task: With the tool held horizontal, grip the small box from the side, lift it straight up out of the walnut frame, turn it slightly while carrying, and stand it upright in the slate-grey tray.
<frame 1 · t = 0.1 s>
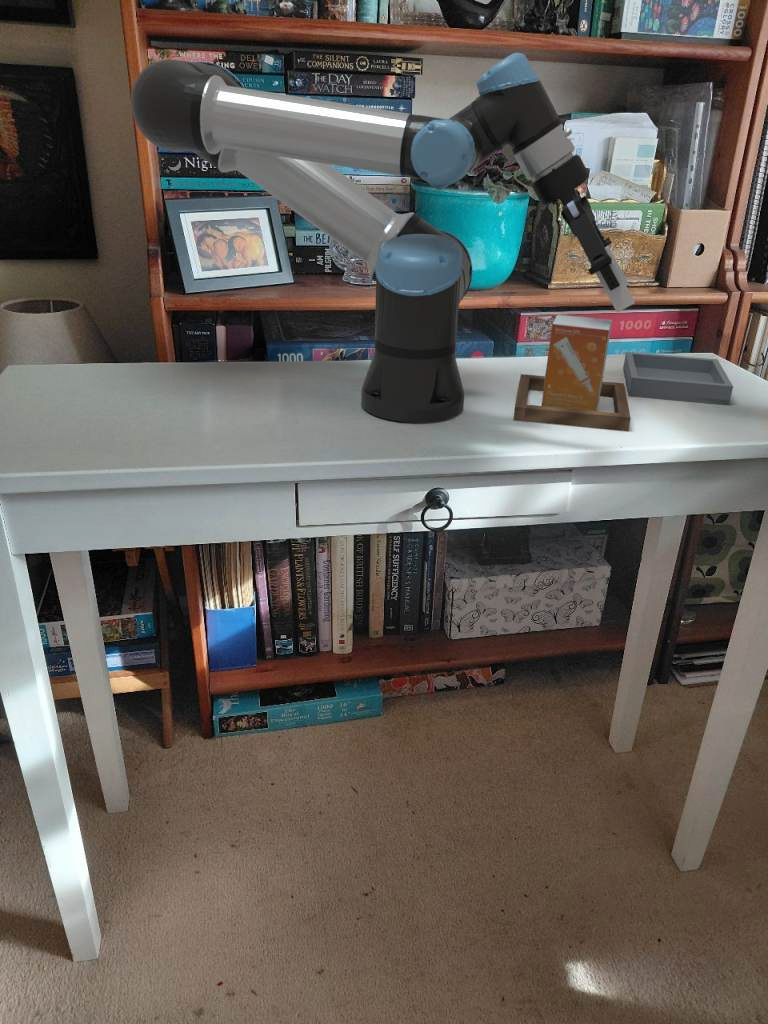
hand: (623, 297, 122), 15 cm above the table, tool tilted 35°, fingers open, 13 cm apart
slate tray: (672, 385, 134), on the table
small box: (569, 408, 123), resting in walnut frame
walnut frame: (570, 407, 123), on the table
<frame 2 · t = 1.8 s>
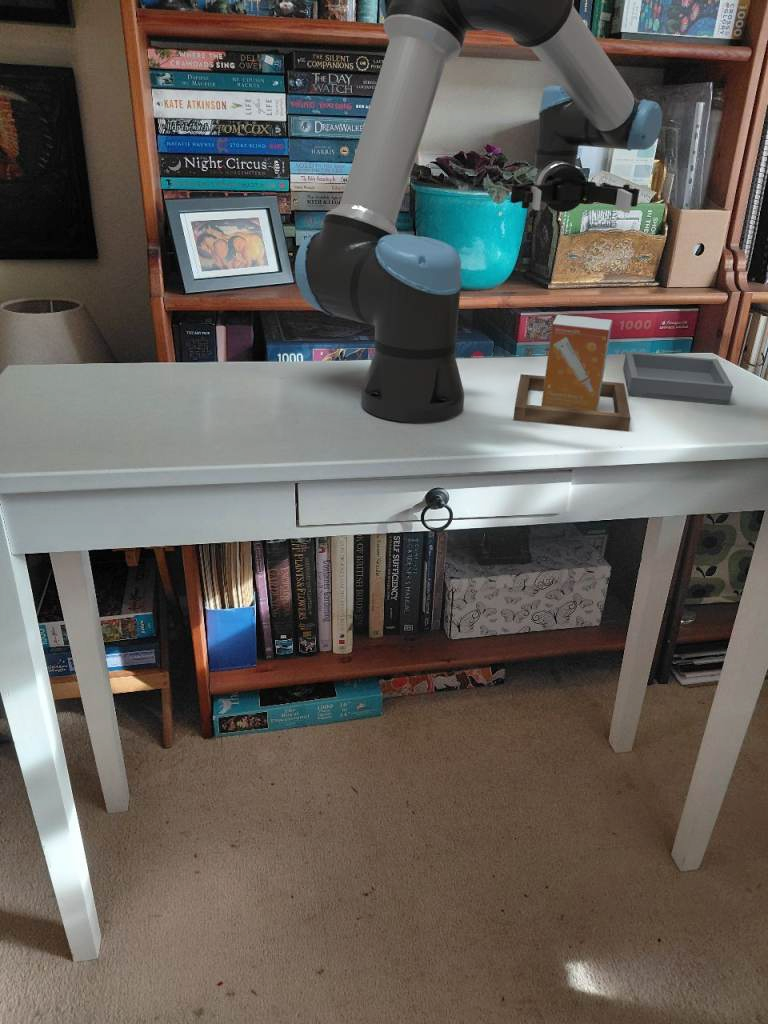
hand: (583, 202, 125), 27 cm above the table, tool horizontal, fingers open, 13 cm apart
nothing on the table moved.
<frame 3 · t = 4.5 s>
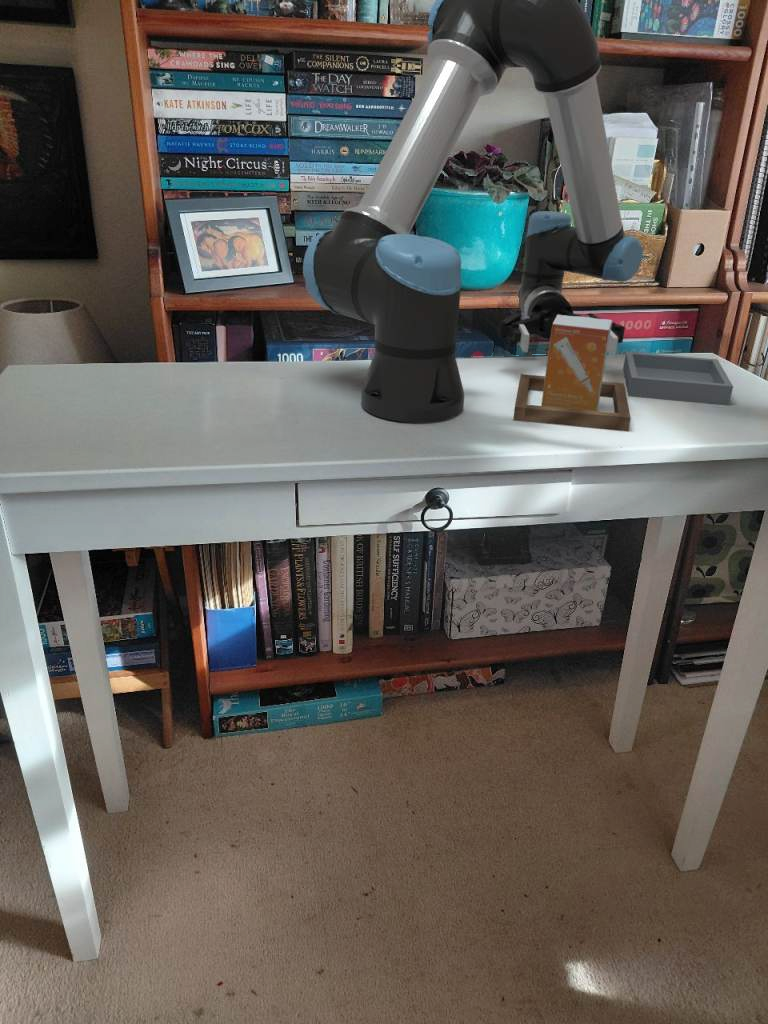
hand: (570, 345, 127), 7 cm above the table, tool horizontal, fingers open, 13 cm apart
nothing on the table moved.
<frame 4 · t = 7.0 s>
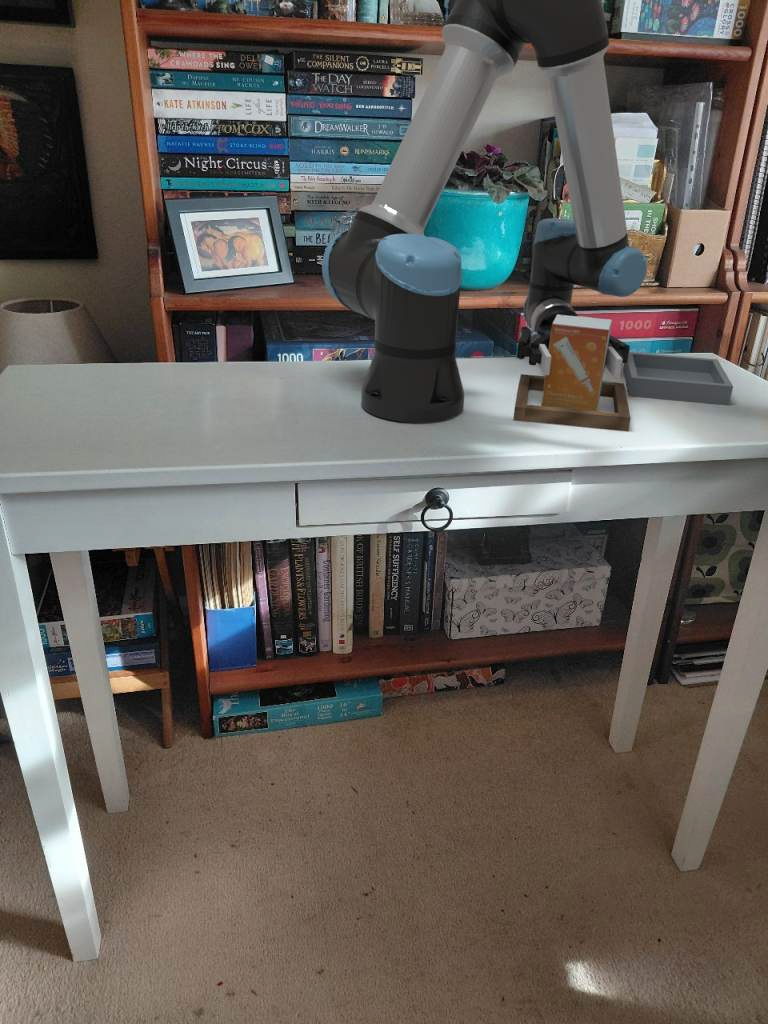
hand: (583, 367, 116), 8 cm above the table, tool horizontal, fingers closed on small box, 9 cm apart
small box: (569, 408, 123), resting in walnut frame, touching gripper
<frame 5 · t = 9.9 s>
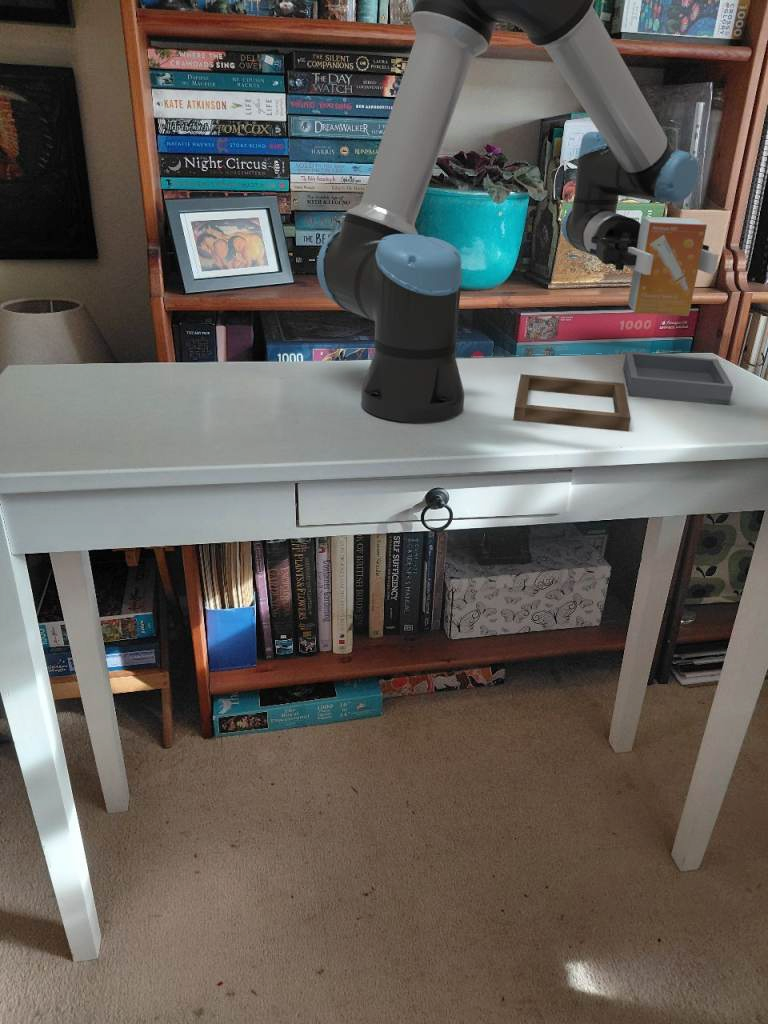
hand: (682, 264, 116), 21 cm above the table, tool horizontal, fingers closed on small box, 9 cm apart
small box: (657, 311, 124), point 13 cm above the table, touching gripper
when the fingers open (10 cm above the table, at t = 12.9 s): small box drops 1 cm, resting on slate tray.
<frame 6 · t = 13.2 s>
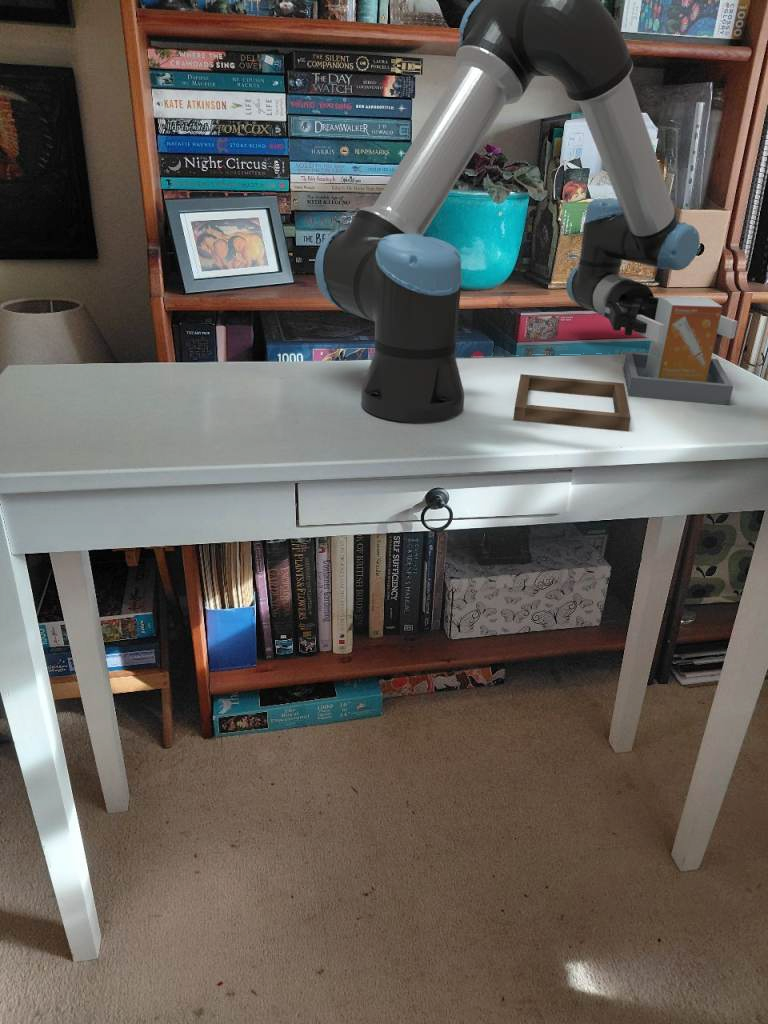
hand: (698, 331, 127), 10 cm above the table, tool horizontal, fingers open, 12 cm apart
small box: (674, 382, 134), point 1 cm above the table, touching slate tray
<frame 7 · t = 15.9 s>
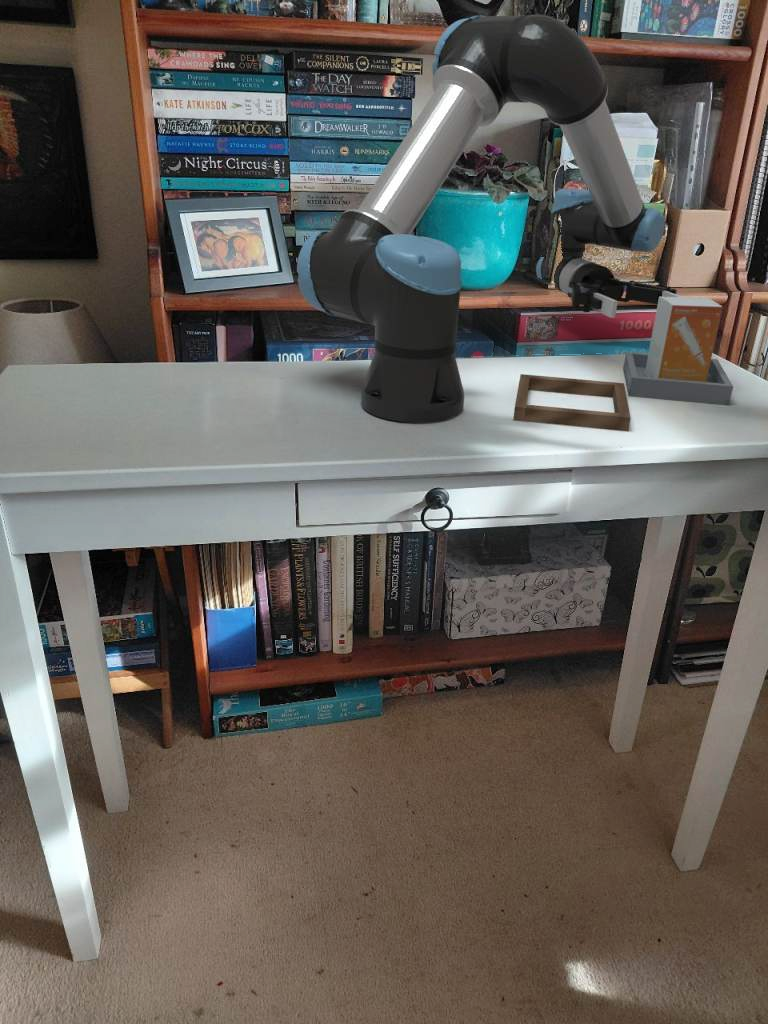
hand: (650, 308, 138), 10 cm above the table, tool horizontal, fingers open, 13 cm apart
nothing on the table moved.
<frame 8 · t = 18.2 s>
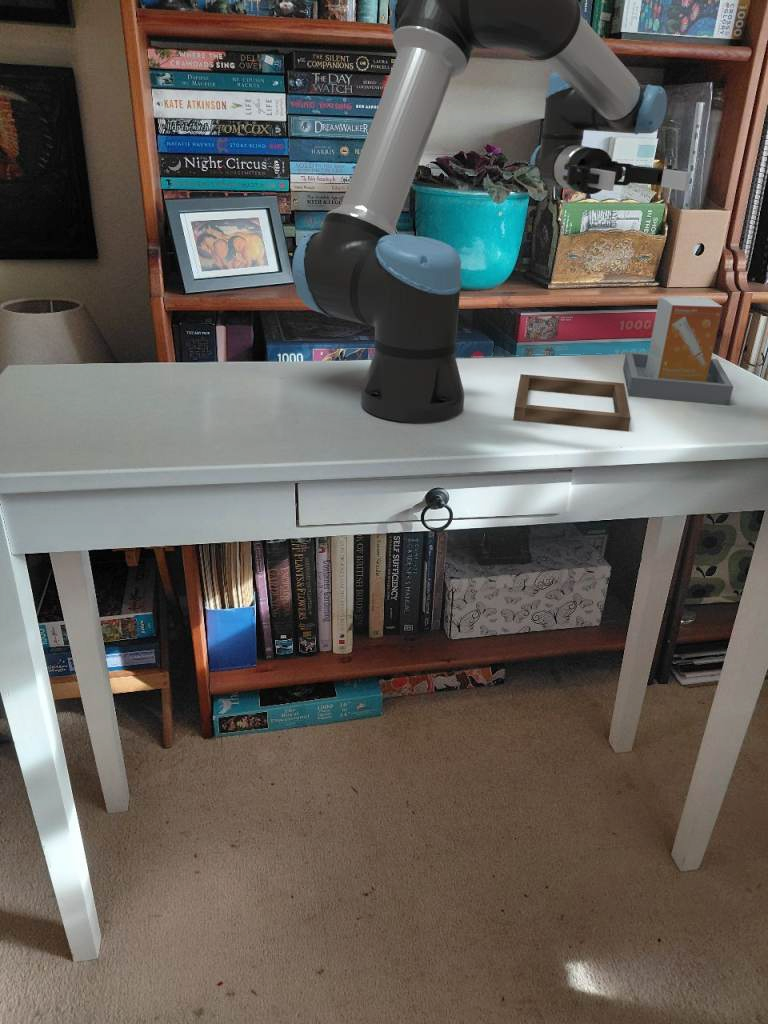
hand: (650, 181, 129), 30 cm above the table, tool horizontal, fingers open, 13 cm apart
nothing on the table moved.
at the end: small box inside the target area on the slate tray (0.1 cm from its centre), point 0.6 cm above the slate tray's base; small box tilted 0°; the gripper is holding nothing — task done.
